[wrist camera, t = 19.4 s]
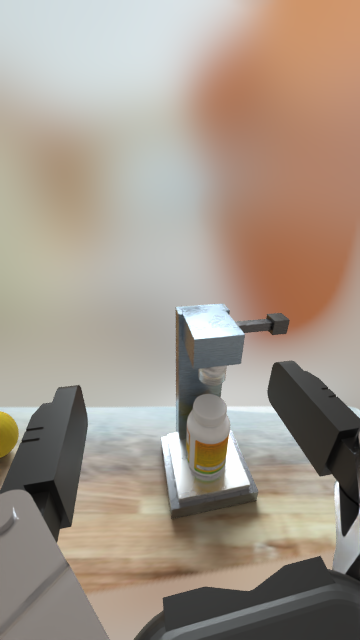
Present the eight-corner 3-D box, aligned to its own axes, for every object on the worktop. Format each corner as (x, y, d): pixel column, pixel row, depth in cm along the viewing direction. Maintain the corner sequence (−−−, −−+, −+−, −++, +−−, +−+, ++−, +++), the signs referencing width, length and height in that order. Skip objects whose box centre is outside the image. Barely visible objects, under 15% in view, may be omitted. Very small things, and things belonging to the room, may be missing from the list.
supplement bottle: (234, 460, 34) (242, 407, 29) (205, 486, 31) (210, 432, 26) (206, 433, 38) (209, 383, 33) (178, 454, 35) (178, 402, 30)
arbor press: (171, 518, 30) (168, 365, 20) (160, 440, 40) (154, 308, 30) (283, 494, 33) (332, 347, 22) (247, 425, 42) (271, 300, 32)
